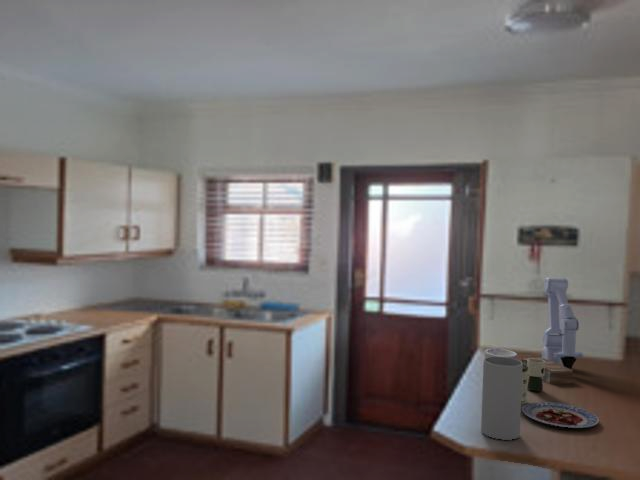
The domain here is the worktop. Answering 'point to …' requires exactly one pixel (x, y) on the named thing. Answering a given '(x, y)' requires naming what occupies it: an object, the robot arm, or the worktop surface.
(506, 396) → the cylinder vase
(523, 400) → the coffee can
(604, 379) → the worktop surface
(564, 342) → the robot arm
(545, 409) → the ceramic plate
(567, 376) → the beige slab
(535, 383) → the character mug
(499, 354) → the paper bowls
